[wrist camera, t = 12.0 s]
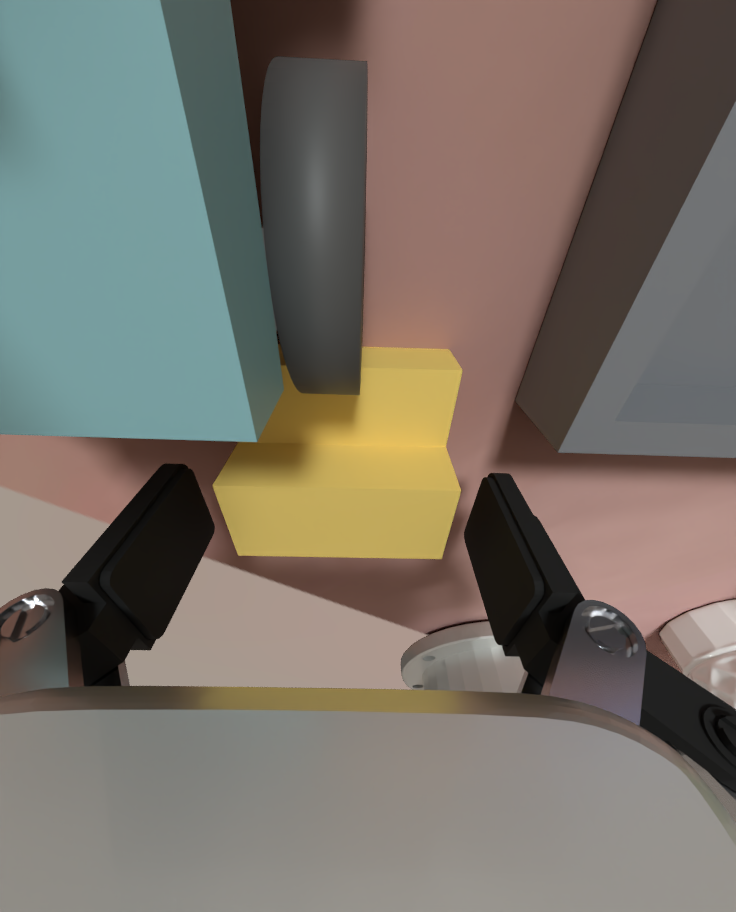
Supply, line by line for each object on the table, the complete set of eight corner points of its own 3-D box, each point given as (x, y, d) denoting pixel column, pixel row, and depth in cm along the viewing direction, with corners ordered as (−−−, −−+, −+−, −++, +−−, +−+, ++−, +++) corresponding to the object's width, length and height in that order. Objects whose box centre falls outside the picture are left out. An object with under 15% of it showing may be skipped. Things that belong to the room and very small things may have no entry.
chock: (423, 477, 13) (441, 559, 10) (270, 474, 13) (238, 555, 10) (447, 346, 10) (485, 405, 7) (241, 340, 10) (179, 397, 6)
